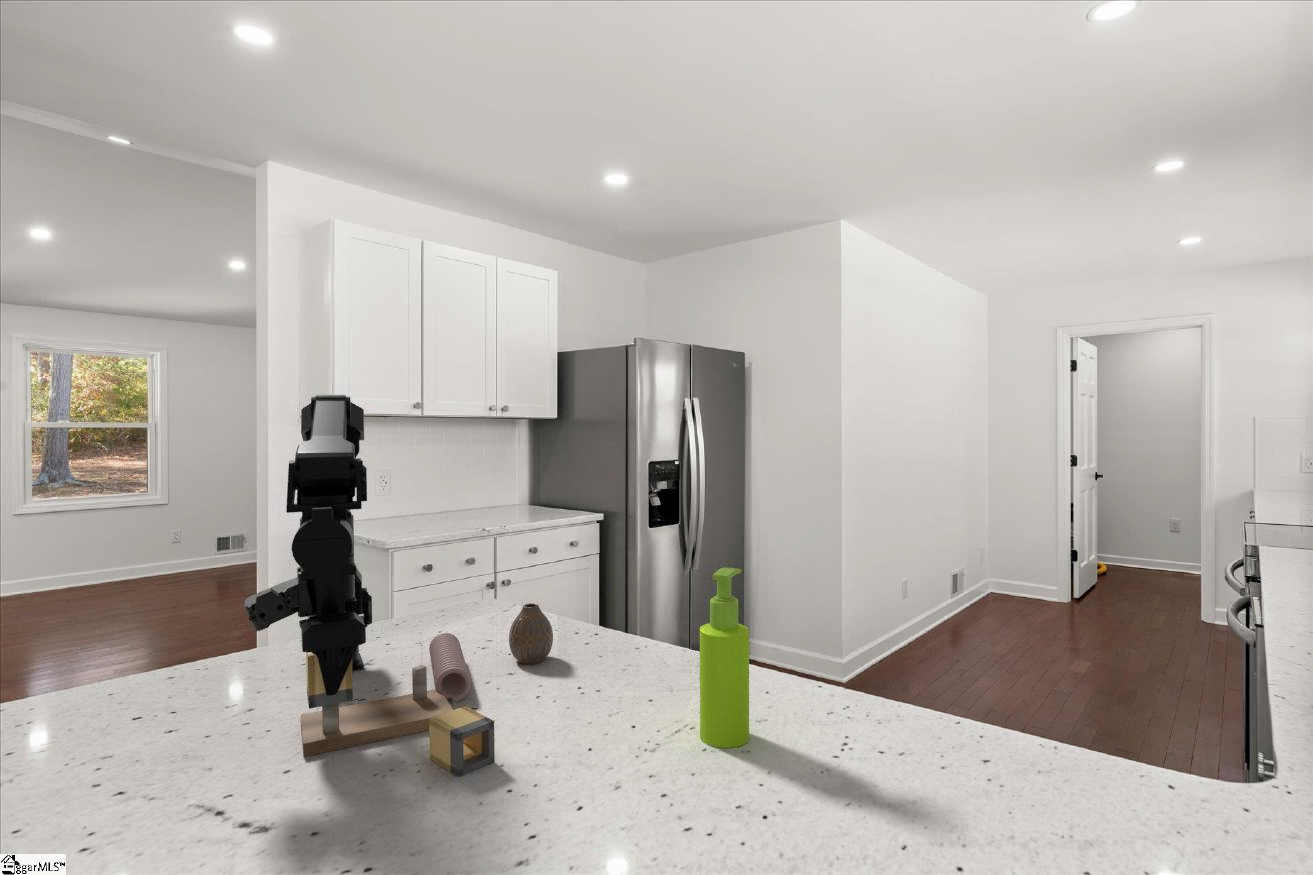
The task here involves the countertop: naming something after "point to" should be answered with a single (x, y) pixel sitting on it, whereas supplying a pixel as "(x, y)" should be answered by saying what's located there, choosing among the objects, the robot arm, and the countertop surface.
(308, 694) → the loose sleeve
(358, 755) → the countertop surface
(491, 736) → the tan angular part
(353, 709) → the pin board
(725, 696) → the soap dispenser
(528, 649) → the vase
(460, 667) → the coil
